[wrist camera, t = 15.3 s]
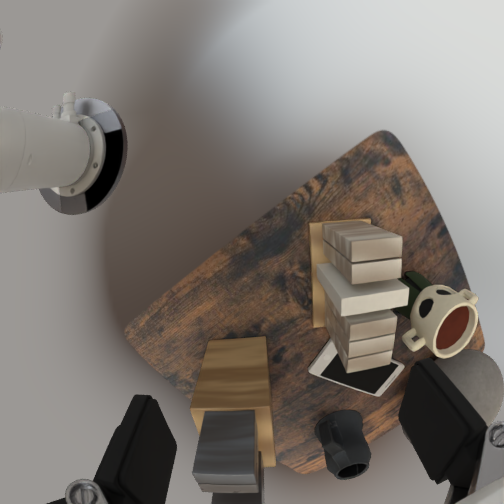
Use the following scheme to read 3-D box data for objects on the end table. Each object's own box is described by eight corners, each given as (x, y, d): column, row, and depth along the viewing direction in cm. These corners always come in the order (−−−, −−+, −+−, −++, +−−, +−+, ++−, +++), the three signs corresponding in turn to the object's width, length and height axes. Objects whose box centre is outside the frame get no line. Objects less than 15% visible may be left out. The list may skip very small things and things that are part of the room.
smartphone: (334, 332, 37) (335, 335, 36) (403, 363, 39) (405, 366, 38) (306, 369, 39) (307, 372, 38) (377, 394, 41) (379, 397, 40)
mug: (369, 423, 42) (386, 465, 32) (329, 445, 44) (340, 488, 33) (340, 394, 40) (358, 443, 30) (296, 420, 42) (303, 470, 31)
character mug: (427, 251, 35) (485, 279, 22) (439, 289, 36) (490, 324, 23) (368, 291, 36) (411, 338, 23) (384, 328, 37) (424, 379, 25)
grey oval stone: (393, 407, 42) (430, 480, 23) (378, 391, 40) (419, 471, 22) (467, 344, 39) (524, 399, 20) (459, 322, 37) (524, 379, 19)
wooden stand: (208, 339, 38) (173, 470, 17) (265, 335, 38) (273, 471, 16) (222, 400, 41) (205, 517, 19) (271, 397, 40) (278, 517, 19)
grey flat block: (316, 264, 34) (341, 298, 24) (368, 258, 34) (409, 288, 23) (316, 277, 35) (341, 316, 24) (368, 271, 34) (407, 305, 24)
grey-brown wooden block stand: (308, 222, 34) (334, 242, 22) (368, 217, 34) (415, 234, 22) (312, 324, 37) (332, 378, 26) (366, 316, 37) (401, 363, 25)
